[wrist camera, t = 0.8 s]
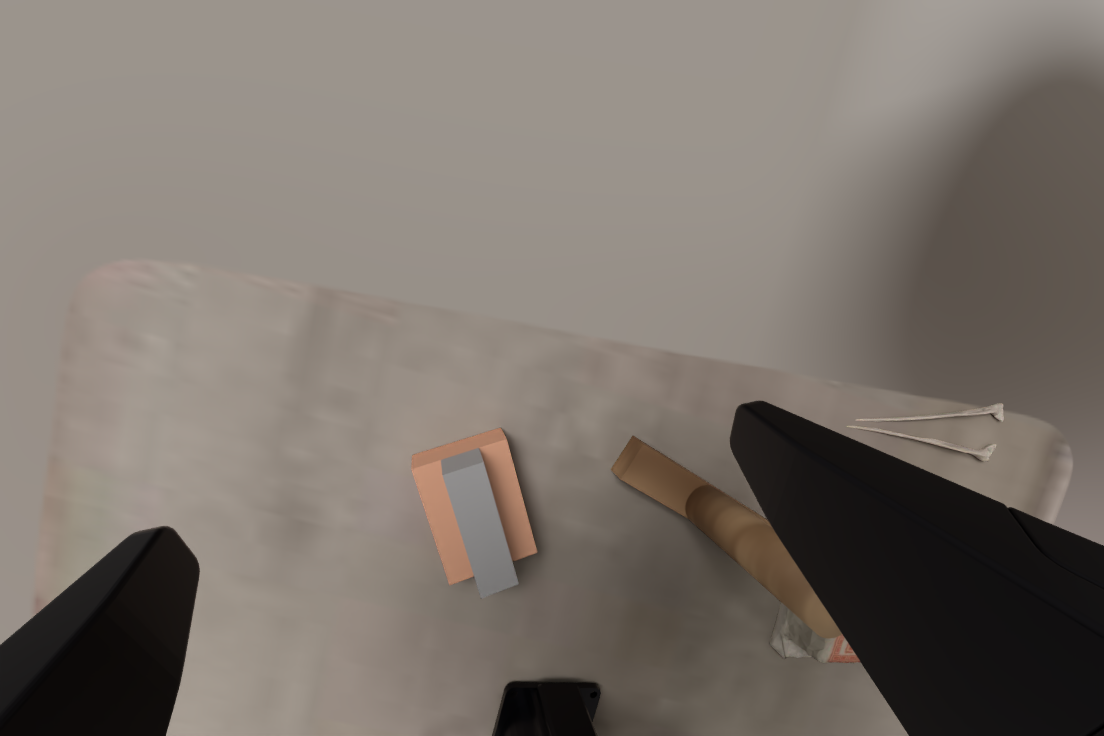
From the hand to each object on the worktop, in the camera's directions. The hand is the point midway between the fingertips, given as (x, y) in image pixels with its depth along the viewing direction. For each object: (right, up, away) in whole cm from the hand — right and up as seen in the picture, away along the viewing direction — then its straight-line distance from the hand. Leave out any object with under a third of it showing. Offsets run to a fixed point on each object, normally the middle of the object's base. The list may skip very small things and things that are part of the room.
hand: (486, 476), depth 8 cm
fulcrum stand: (-3, -6, +19) cm, 20 cm away
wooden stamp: (+10, -6, +23) cm, 26 cm away
